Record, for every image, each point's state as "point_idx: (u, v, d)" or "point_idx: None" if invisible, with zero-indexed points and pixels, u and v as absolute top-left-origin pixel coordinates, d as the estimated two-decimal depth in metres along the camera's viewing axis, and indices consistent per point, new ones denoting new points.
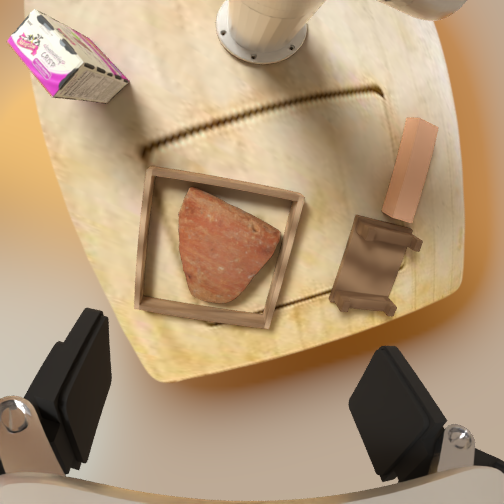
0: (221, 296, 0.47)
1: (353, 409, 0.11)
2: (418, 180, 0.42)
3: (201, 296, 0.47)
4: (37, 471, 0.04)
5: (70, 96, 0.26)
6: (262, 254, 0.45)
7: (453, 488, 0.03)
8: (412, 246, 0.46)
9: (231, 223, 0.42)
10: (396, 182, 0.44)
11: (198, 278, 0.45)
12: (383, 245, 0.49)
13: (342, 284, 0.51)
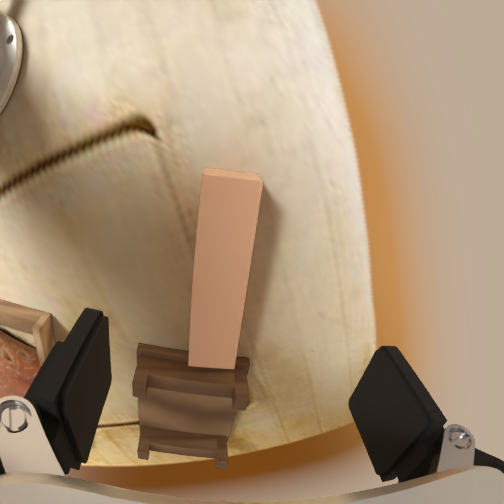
0: None
1: (353, 409, 0.11)
2: (227, 302, 0.24)
3: None
4: (37, 471, 0.04)
5: None
6: (26, 385, 0.26)
7: (453, 488, 0.03)
8: (233, 400, 0.27)
9: None
10: None
11: None
12: None
13: (147, 421, 0.32)
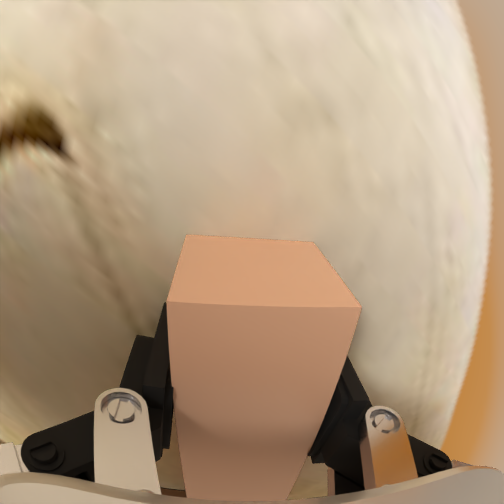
0: None
1: None
2: (256, 498, 0.10)
3: None
4: (129, 463, 0.05)
5: None
6: None
7: (453, 488, 0.03)
8: None
9: None
10: None
11: None
12: None
13: None
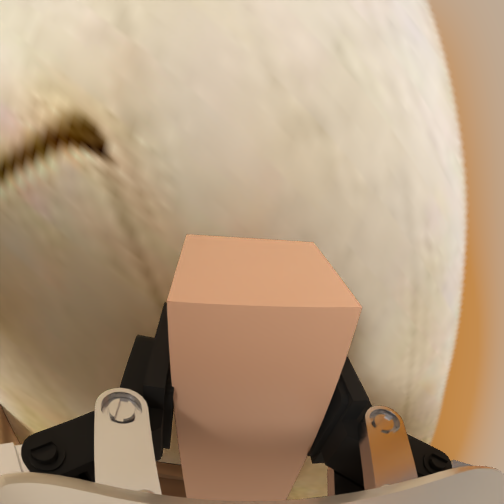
0: None
1: None
2: (255, 498, 0.10)
3: None
4: (129, 463, 0.05)
5: None
6: None
7: (453, 488, 0.03)
8: None
9: None
10: None
11: None
12: None
13: None
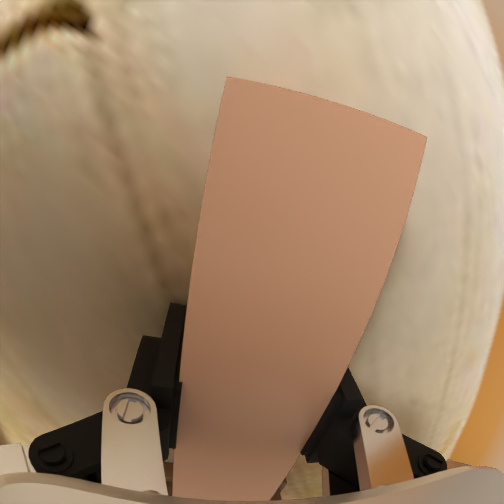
0: None
1: None
2: (264, 448, 0.08)
3: None
4: (136, 463, 0.05)
5: None
6: None
7: (453, 488, 0.03)
8: None
9: None
10: None
11: None
12: None
13: None
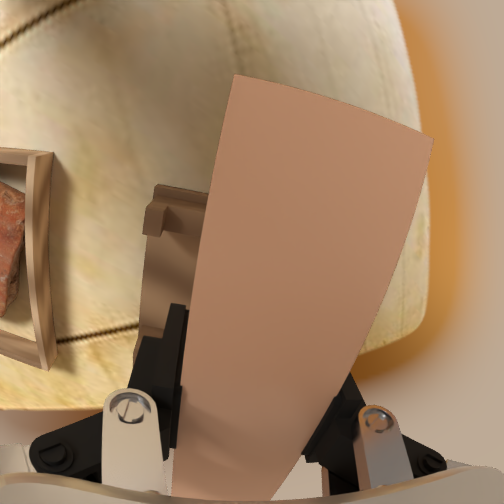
0: None
1: None
2: (264, 450, 0.08)
3: None
4: (137, 463, 0.05)
5: None
6: (4, 241, 0.20)
7: (453, 488, 0.03)
8: None
9: None
10: None
11: None
12: None
13: (151, 317, 0.27)
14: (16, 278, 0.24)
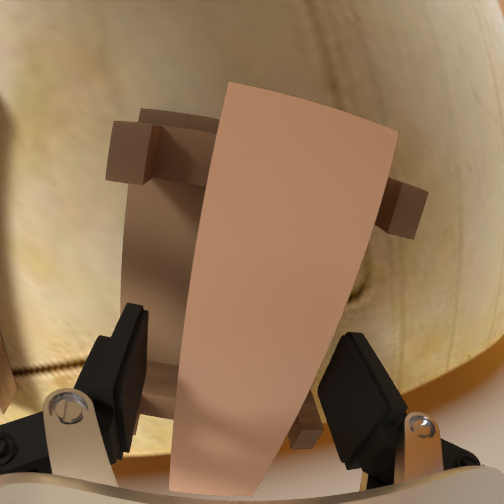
0: None
1: (321, 396, 0.11)
2: (257, 419, 0.09)
3: None
4: (84, 464, 0.04)
5: None
6: None
7: (453, 488, 0.03)
8: (382, 214, 0.11)
9: None
10: None
11: None
12: None
13: None
14: None
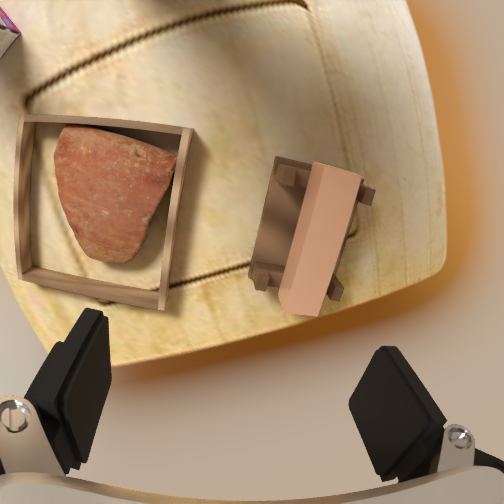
0: (118, 252, 0.34)
1: (353, 409, 0.11)
2: (325, 260, 0.32)
3: (96, 255, 0.34)
4: (37, 471, 0.04)
5: None
6: (153, 185, 0.32)
7: (453, 488, 0.03)
8: (360, 197, 0.33)
9: (107, 150, 0.29)
10: (293, 262, 0.34)
11: (85, 230, 0.32)
12: None
13: (263, 254, 0.38)
14: (150, 222, 0.35)
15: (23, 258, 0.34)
